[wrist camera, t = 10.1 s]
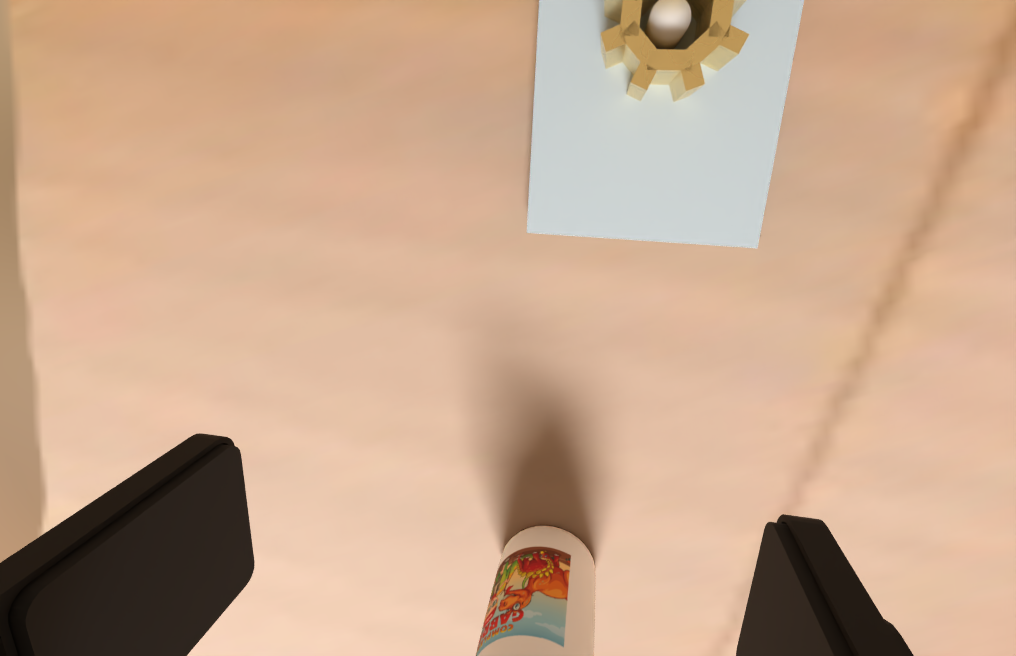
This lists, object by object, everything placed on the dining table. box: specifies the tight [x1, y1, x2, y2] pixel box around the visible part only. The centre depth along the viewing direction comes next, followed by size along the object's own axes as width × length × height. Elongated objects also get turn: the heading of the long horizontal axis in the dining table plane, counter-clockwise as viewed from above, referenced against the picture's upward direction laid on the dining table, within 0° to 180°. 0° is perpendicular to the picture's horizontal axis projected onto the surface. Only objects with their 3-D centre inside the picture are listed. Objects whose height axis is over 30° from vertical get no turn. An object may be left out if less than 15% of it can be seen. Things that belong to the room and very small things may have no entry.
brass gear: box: [600, 0, 749, 102], centre depth 27 cm, size 7×7×5 cm
